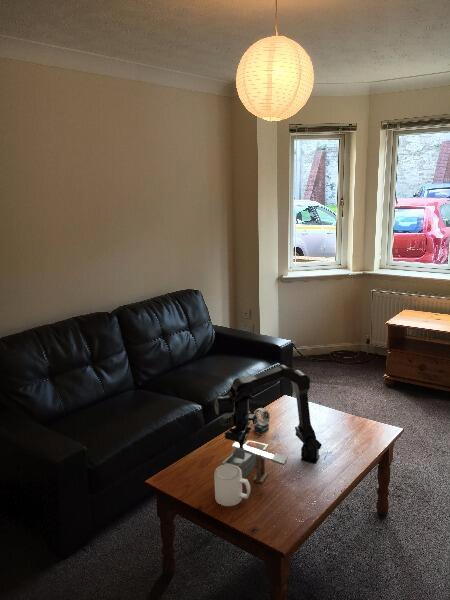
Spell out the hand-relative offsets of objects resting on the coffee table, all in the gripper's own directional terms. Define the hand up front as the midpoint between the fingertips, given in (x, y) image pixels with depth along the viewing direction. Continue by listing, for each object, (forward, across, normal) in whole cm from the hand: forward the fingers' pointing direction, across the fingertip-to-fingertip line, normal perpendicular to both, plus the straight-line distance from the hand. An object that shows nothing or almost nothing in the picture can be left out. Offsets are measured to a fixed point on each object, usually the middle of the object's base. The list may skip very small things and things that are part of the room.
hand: (241, 446), depth 190 cm
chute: (+12, -1, -1) cm, 12 cm away
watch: (+12, -36, -6) cm, 38 cm away
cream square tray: (+12, -14, -1) cm, 19 cm away
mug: (+12, +16, +3) cm, 21 cm away
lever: (+6, 0, +7) cm, 9 cm away
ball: (+9, -15, -2) cm, 18 cm away
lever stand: (+12, 0, +8) cm, 15 cm away
